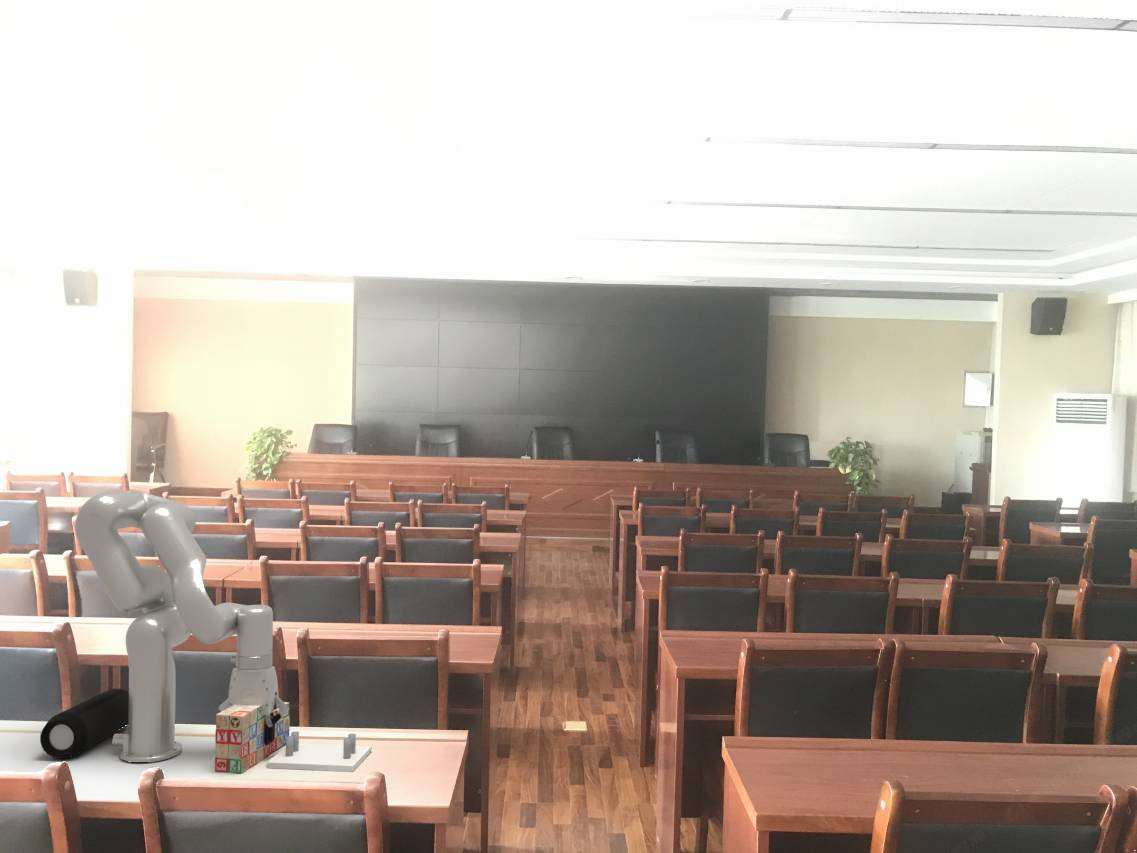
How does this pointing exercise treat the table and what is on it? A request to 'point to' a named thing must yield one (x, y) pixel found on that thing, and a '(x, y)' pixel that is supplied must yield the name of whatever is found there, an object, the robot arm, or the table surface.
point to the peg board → (320, 755)
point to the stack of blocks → (245, 737)
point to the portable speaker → (85, 724)
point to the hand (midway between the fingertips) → (253, 742)
